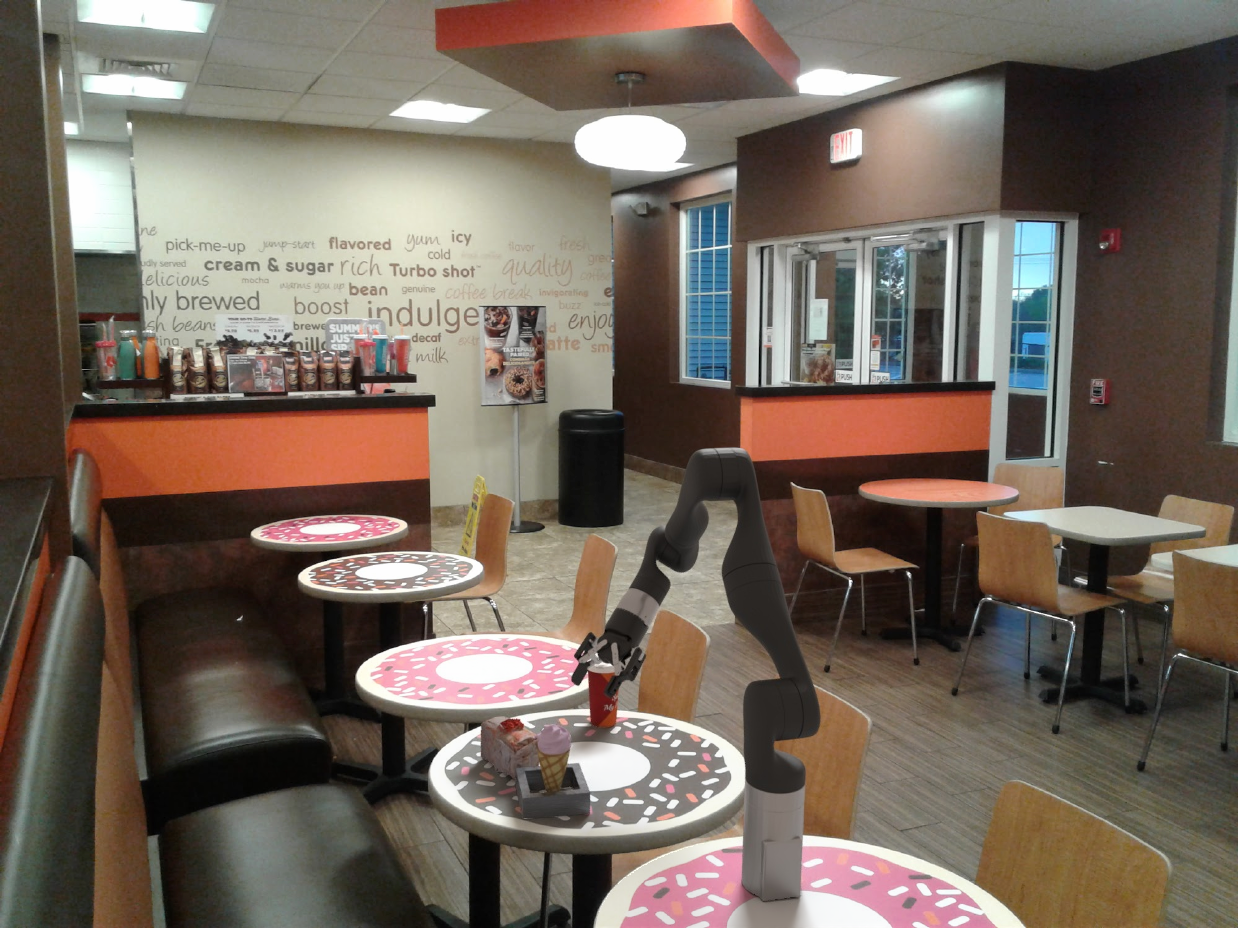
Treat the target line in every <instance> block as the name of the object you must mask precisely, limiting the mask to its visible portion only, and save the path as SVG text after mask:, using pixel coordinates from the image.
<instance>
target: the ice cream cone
mask: <svg viewBox="0 0 1238 928" xmlns="http://www.w3.org/2000/svg"><path fill="white" fill-rule="evenodd" d="M535 734H536V733H535ZM533 738H534V739H535V738H537V739H538V747H537V753H538V758H539V766H540V768H541V773H542V776H543V780H544V784H545V787H546V789H545V790H546V791H545V792H554V791H561V789H562V788H561V785H562V782H563V778H564V774H565V771H566V767H567V764H569V763H568V762H569V757H570V752H571V748H572V743H571V741H572V737H571V734H570V731H568V730H567V729H566V727H564V726H561V725H558V723H557V724H553V723H551V724H544V725H543V729H542V730H540V732H539V733H537V734H536V735H535V736H534V737H533Z"/></svg>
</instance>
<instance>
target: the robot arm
mask: <svg viewBox="0 0 1238 928" xmlns="http://www.w3.org/2000/svg"><path fill="white" fill-rule="evenodd" d="M685 468H686V469H685V472H684V476H683V479H682V483H681V486H680V491H679V495H678V499H677V504H676V506H675V507H674V510H673V512H672V513H671V515H670V517H669V519H668V520H667V522H666V524H665V525H660V526H657V527H655V528H654V529H653V530H652V531H651V533H649V536H648V539H647V541H646V546H645V551H644V553H643V554H644V555H643V558H642V562H641V565H640V567H639V569H638V572H637V573H636V575H635V577H634V579H633V580H632V582H631V584H630V586H629V587H628V589H627V590H626V592H625V593H624V594H623V595H622V597H621V598H620V600H619V602H618V603H617V605H616V606H615V607H614V610H613V612H612V614H611V615H610V616H609V619H608V620H607V622H606V624H605V626H604V631H603V634H601V636H597V635H596V634H594V633H593V632H592V631H590V632H588V633H587V634H586V636H585V638H584V639H583V641H582V642H581V644H580V645H579V647H578V649H577V650H576V651H575V653H574V654H573V657H574V659H575V660H576V661H577V662H578V664H577V666H576V668H575V669H574V671H573V673H572V674H571V677H570V678H571V679H570V681H571V682H572V683H573V684H574V686H577V687H579V686H581V684H582V682H583V680H584V679H585V677H586V675H588V669H589V668H590V667H592V666H593V665H595V664H600V663H601V662H603V663H607V664H611V665H612V666H614V670H615V676H614V675H612V677H611V679H610V681H609V682H608V684H607V686H606V687H605V689H604V694H605V695H606V696H607V697H609V698H612V697H613V696H614V695H615V694H616V693H617V691H618V689H619V690H620V687H621V685H622V684H623V682H625V681H630V682H634V681H635V680H636V677H637V675H638V674H639V672H640V670H641V669H642V668H641V667H642V666H643V663H644V662H645V660H646V658H647V654H646V653H645V651H644V650H643V649H642V648H641V647H639V646H640V644H641V643H642V642H643V641H642V640H643V639H644V637H645V636H646V634H647V632H648V630H649V629H650V627H651V625H652V623H653V622H654V620H655V618H656V616H657V613H658V611H659V609H660V607H661V605H662V603H664V600H665V598H666V596H667V595H668V593H669V591H670V589H671V586H672V585H671V580H670V579H669V577H668V576H667V575H666V574H665V573H664V571H662V570H661V569H660V568H659V566H658V565H657V562H659V563H660V564H662V565H664V566H665V567H667V568H669V569H670V570H672V571H674V572H675V573H679V574H682V573H683V574H684V573H686V572H689V571H690V570H691V569H692V568H693V567H694V566H695V564H696V563H697V559H698V558H699V557H698V556H699V550H700V540H701V538H702V537H703V535H704V533H705V532H706V530H707V528H708V526H709V520H710V516H709V511H708V509H707V505H705V503H704V501H706V502H724V501H725V502H726V501H727V502H729V501H733V502H734V504H735V507H736V511H737V512H736V513H737V523H736V527H735V530H734V533H733V536H732V537H731V541H730V543H729V545H728V548H727V550H726V552H725V555H724V557H723V561H722V564H721V578H722V582H723V586H724V591H725V595H726V598H727V603H728V606H729V609H730V610H731V612H732V614H733V615H734V617H735V618H736V619H737V621H738V622H739V623H740V624H741V625H742V626H743V627H744V628H745V630H747V631H748V632H749V634H751V635H752V636H753V638H755V639H756V640H757V642H759V644H760V645H761V646H762V647H763V648H764V649H765V651H766V652H767V654H768V655H769V656H770V658H771V661H772V662H773V664H774V666H775V669H776V671H777V674H778V678H770V679H759V680H758V679H757V680H754V681H751V682H749V683H748V684H747V686H746V688H745V691H744V694H743V701H742V717H743V719H742V720H743V759H744V761H743V762H744V768H745V769H744V772H745V773H744V798H743V823H742V825H743V827H742V828H743V829H742V851H741V852H742V854H741V855H742V856H741V857H742V858H741V859H742V861H741V862H742V863H741V884H742V887H744V888H745V890H747V891H748V892H749V893H751V894H752V895H754V894H755V895H754V896H757V897H759V898H760V900H761V899H762V900H761V901H763V902H769V901H776V900H775V899H778V900H785V899H784V898H787V899H791V898H790V897H796V898H800V897H801V887H802V869H803V868H802V867H803V864H802V863H803V845H804V844H803V842H804V841H803V840H804V823H805V822H804V819H805V802H806V801H805V798H806V776H807V775H806V774H807V772H806V771H807V770H806V766H805V764H804V762H803V761H802V760H801V759H800V758H798V757H797V756H795V755H793V754H791V753H789V752H785V751H783V750H779V749H775V742H781V741H783V742H784V741H791V740H800V739H806V738H811V737H814V736H815V735H817V733H818V732H819V730H820V727H821V719H822V718H821V717H822V716H821V709H820V707H821V706H820V703H819V698H818V694H817V691H816V688H815V685H814V682H813V678H812V676H811V674H810V671H809V669H808V665H807V664H806V660H805V658H804V655H803V652H802V649H801V647H800V644H799V642H798V638H797V635H796V631H795V629H794V626H793V622H792V619H791V615H790V611H789V608H788V603H787V599H786V594H785V590H784V586H783V583H782V579H781V575H780V571H779V569H778V565H777V562H776V558H775V555H774V552H773V549H772V544H771V541H770V538H769V533H768V531H767V526H766V522H765V519H764V518H765V517H764V513H763V507H762V502H761V497H760V492H759V485H758V481H757V475H756V469H755V466H754V462H753V460H752V458H751V455H750V454H749V452H748V451H747V450H745V449H744V448H742V447H741V448H740V447H714V448H713V447H712V448H702V449H698V450H696V451H695V452H694V453H692V455H691V456H690V457H689V459H688V463H687V466H686V467H685ZM597 656H598V657H597ZM590 659H591V660H590ZM628 659H629V661H628V663H627V660H628ZM589 660H590V661H589ZM768 900H769V901H768Z"/></svg>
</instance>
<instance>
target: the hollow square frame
mask: <svg viewBox="0 0 1238 928" xmlns="http://www.w3.org/2000/svg"><path fill="white" fill-rule="evenodd" d="M565 788H572V789H568V790H560V791H554V792H547V791H544V792H534V793H533V792H531V791H541V790H546V787H545V784H544V780H543V776H542V773H541V768H540V765H539V766H533V767H521V768H516V778H515V790H516V795H517V800H518V804H519V809H520V813H522V814H521V817H523V818H535V819H543V818H544V819H545V818H553V817H554V816H557V817H566V816H577V815H587V814H589V815H590V814H591V791H590V789H589V786H588V783H587V780H586V778H585V775H584V773H583V770H582V767H581V763H580V762H573V763H567V767H566V771H565V774H564V778H563V782H562V785H561V788H560V789H565ZM523 818H522V819H523Z"/></svg>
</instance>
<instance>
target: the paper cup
mask: <svg viewBox="0 0 1238 928" xmlns="http://www.w3.org/2000/svg"><path fill="white" fill-rule="evenodd" d="M596 656H597V657H598V655H596ZM590 660H591V659H590ZM590 660H588V661H590ZM612 675H614V676H615V670H614V666H612V665H611V664H607V663H603V662H601V663H600V664H595V665H593V666H592V667H590V668H589V669H588V672H587V680H588V698H589V699H588V700H589V701H588V702H589V703H588V704H589V720H590V724H591V725H592V726H593V725H594V726H593V727H595V726H597V727H596V728H600V727H607V728H612V727H613V725H614V726H616V723H617V718H618V706H619V703H618V702H619V693H620V692H619V690H620V688H619V689H618V691H617V693H616V694H615V695H614V696H613V697H612V698H609V697H607V696H606V695H605V694H604V689H605V687H606V686H607V684H608V682H609V681H610V679H611V677H612Z"/></svg>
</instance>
